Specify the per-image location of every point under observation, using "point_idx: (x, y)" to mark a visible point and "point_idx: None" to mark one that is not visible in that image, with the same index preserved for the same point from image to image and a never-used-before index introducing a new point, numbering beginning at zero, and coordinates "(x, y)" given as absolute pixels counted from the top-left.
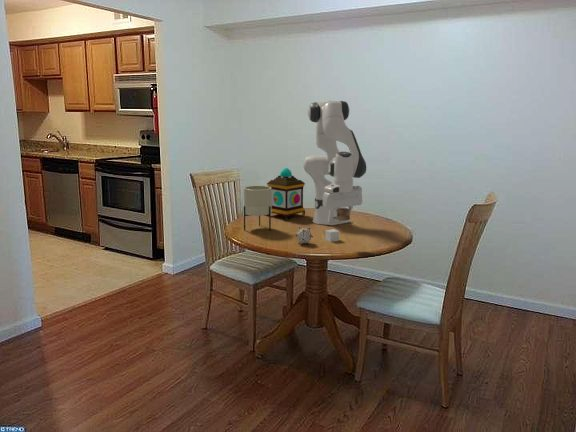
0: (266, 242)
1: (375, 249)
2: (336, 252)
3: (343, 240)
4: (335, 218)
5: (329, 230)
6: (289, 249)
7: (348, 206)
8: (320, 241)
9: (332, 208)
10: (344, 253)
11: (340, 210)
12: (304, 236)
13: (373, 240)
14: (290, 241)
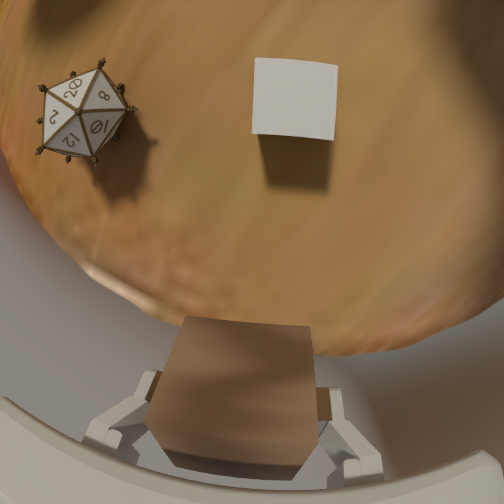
0: (16, 68)
1: (361, 337)
2: (187, 302)
3: (348, 147)
4: (186, 323)
5: (277, 80)
6: (40, 181)
7: (338, 476)
8: (205, 99)
9: (90, 427)
10: None
11: (173, 463)
12: (66, 153)
13: (460, 234)
14: (76, 62)
